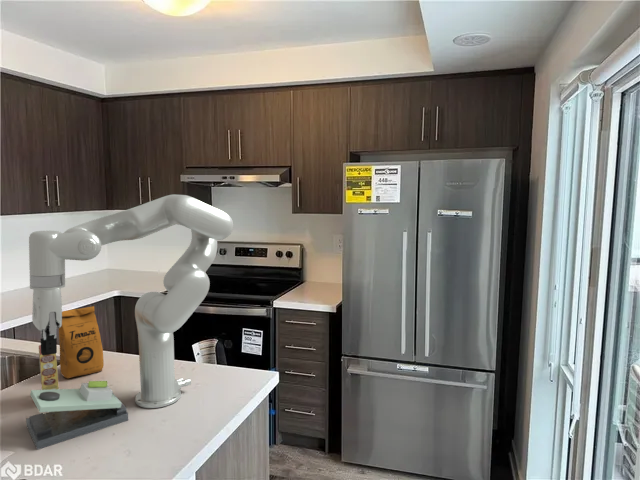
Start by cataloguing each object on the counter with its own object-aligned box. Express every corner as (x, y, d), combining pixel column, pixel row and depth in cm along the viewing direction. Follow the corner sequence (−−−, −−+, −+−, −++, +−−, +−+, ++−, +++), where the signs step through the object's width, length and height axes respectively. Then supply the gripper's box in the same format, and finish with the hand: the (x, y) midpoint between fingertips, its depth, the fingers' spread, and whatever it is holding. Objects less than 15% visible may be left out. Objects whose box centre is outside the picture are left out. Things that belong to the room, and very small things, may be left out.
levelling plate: (108, 391, 131) (112, 373, 131) (122, 407, 122) (126, 388, 122) (30, 394, 118) (34, 374, 118) (39, 412, 109) (44, 390, 109)
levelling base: (111, 401, 133) (111, 390, 132) (128, 420, 122) (127, 408, 122) (26, 425, 119) (25, 414, 119) (37, 449, 109) (36, 437, 108)
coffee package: (106, 373, 152) (102, 308, 150) (64, 382, 145) (59, 315, 142) (99, 363, 160) (95, 302, 157) (58, 372, 153) (54, 307, 150)
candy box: (60, 403, 132) (56, 351, 130) (43, 406, 129) (39, 354, 127) (57, 391, 139) (54, 342, 137) (41, 394, 137) (37, 345, 135)
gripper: (24, 277, 116) (25, 348, 118) (35, 288, 105) (37, 366, 107) (58, 275, 121) (58, 343, 123) (72, 285, 110) (73, 359, 112)
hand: (48, 353), depth 115 cm, fingers closed
